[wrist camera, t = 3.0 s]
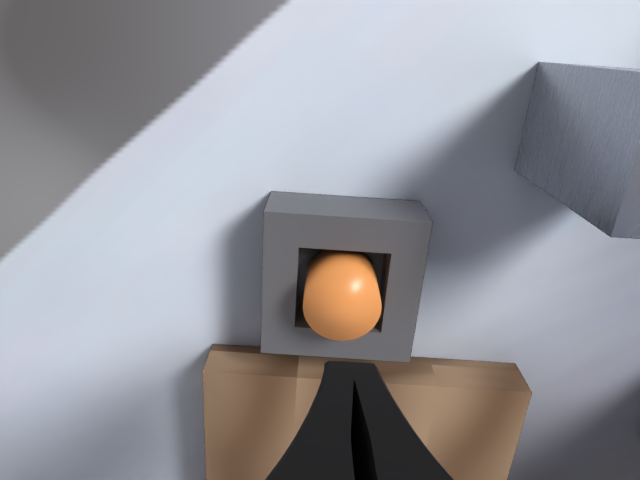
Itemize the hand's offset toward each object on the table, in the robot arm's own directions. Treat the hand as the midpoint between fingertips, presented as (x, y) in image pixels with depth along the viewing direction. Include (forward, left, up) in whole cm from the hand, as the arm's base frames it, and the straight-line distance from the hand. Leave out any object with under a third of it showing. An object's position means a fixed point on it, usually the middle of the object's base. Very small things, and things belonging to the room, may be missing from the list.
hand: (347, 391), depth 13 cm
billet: (-8, -7, -8) cm, 13 cm away
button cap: (0, 0, -7) cm, 7 cm away
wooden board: (-1, +11, -8) cm, 14 cm away
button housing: (0, 0, -8) cm, 8 cm away
